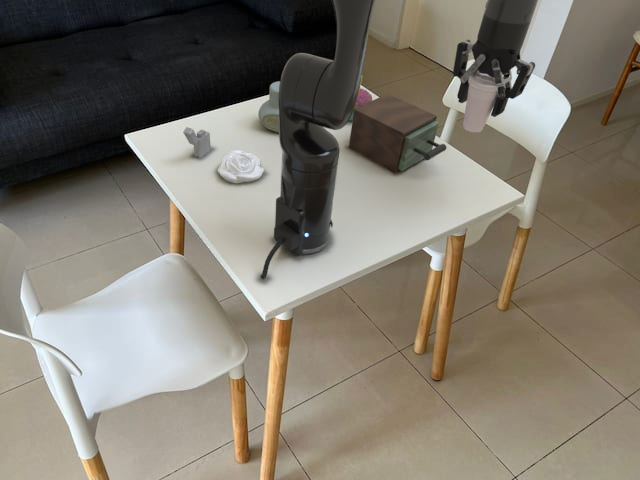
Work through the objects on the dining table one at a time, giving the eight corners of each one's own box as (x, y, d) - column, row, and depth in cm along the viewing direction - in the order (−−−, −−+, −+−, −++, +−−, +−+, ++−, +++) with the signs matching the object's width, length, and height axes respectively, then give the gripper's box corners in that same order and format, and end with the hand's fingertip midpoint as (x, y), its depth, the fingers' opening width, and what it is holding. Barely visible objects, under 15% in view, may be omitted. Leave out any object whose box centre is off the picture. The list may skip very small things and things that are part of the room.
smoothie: (491, 138, 98) (516, 63, 88) (456, 133, 99) (477, 59, 89) (488, 121, 103) (512, 49, 93) (454, 117, 103) (475, 45, 94)
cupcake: (374, 123, 130) (382, 76, 121) (341, 126, 128) (347, 78, 120) (362, 107, 136) (369, 60, 127) (331, 109, 134) (336, 63, 126)
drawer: (447, 162, 116) (456, 130, 111) (418, 180, 111) (427, 147, 106) (387, 132, 125) (393, 101, 119) (358, 147, 120) (363, 115, 114)
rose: (235, 137, 114) (273, 150, 111) (236, 154, 117) (272, 168, 114) (207, 157, 108) (245, 172, 105) (208, 175, 111) (246, 191, 108)
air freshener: (254, 130, 125) (253, 90, 119) (265, 114, 131) (265, 75, 124) (298, 138, 123) (300, 98, 116) (307, 122, 129) (310, 82, 122)
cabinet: (427, 154, 120) (437, 115, 113) (395, 173, 114) (404, 133, 107) (380, 131, 127) (387, 93, 120) (348, 147, 121) (353, 108, 114)
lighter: (204, 147, 119) (202, 115, 114) (211, 149, 119) (208, 117, 113) (186, 162, 115) (182, 129, 109) (192, 164, 114) (189, 131, 109)
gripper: (560, 20, 85) (523, 116, 96) (482, -3, 92) (456, 89, 104) (538, 31, 81) (502, 130, 92) (458, 6, 88) (434, 100, 100)
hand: (478, 107), depth 98 cm, fingers closed on smoothie, 6 cm apart
